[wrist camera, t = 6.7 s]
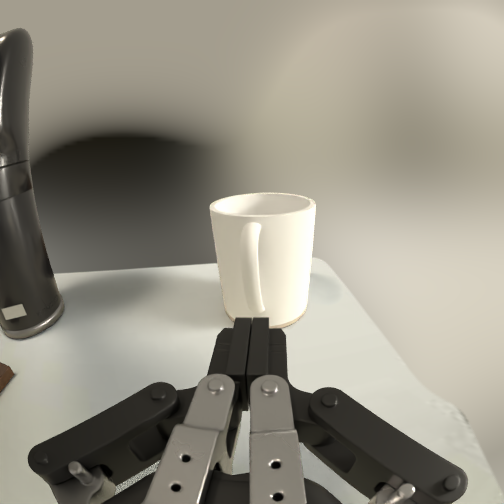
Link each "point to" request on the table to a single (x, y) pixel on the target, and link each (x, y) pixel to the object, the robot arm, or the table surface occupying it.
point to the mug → (264, 254)
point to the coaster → (5, 375)
